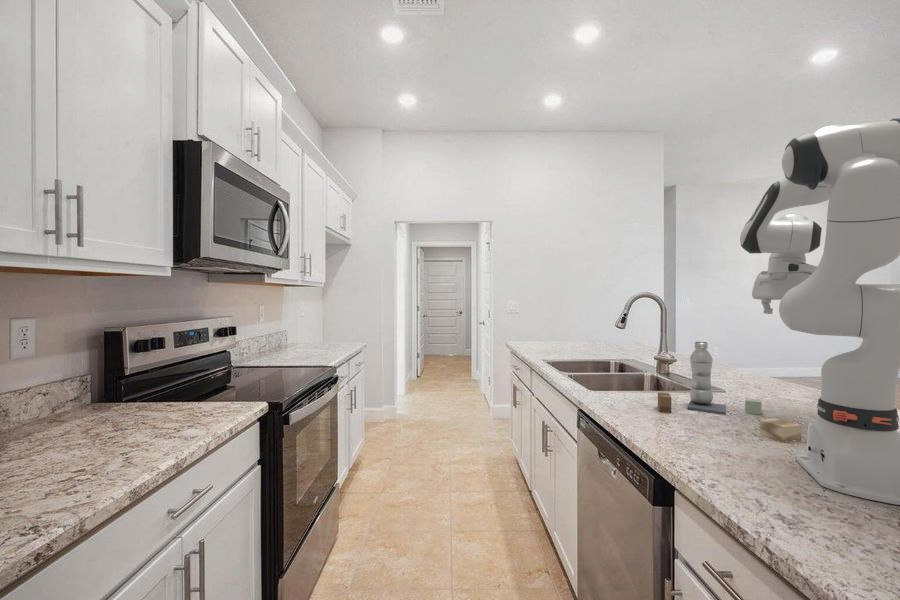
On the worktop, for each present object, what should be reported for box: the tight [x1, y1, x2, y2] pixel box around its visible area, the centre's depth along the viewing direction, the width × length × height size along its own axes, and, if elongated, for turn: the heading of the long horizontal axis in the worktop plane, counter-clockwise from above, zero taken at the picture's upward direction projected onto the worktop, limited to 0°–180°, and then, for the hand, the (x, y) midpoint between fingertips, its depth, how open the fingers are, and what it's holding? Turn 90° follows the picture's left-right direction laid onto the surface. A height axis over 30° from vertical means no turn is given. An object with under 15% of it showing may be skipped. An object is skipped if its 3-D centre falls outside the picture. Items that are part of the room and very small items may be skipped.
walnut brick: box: [657, 391, 672, 414], centre depth 131 cm, size 6×3×5 cm, turn 161°
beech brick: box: [759, 417, 802, 443], centre depth 107 cm, size 6×6×4 cm
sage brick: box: [744, 397, 762, 416], centre depth 129 cm, size 4×4×4 cm
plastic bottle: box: [689, 341, 714, 404], centre depth 136 cm, size 6×7×20 cm
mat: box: [687, 399, 727, 416], centre depth 133 cm, size 10×10×1 cm
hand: (780, 314), depth 127 cm, fingers open, 8 cm apart
